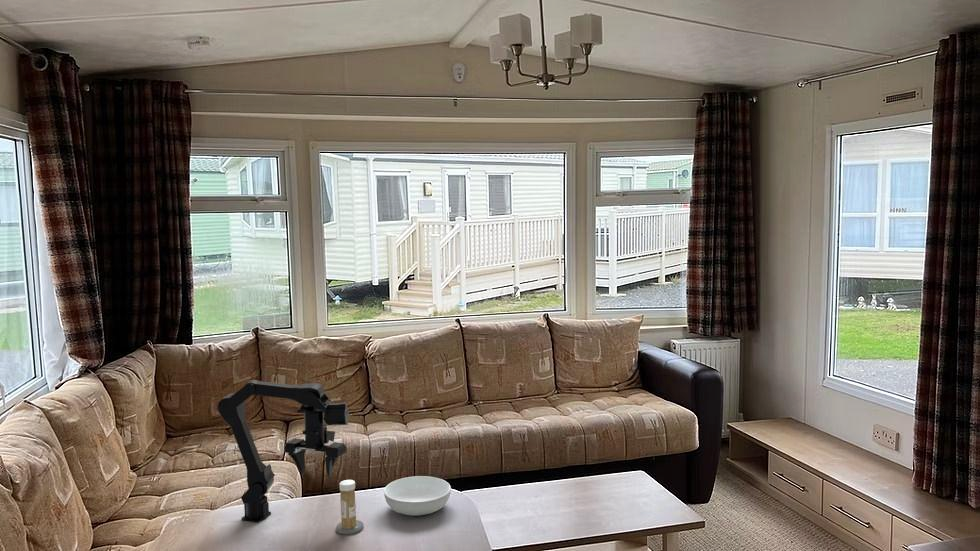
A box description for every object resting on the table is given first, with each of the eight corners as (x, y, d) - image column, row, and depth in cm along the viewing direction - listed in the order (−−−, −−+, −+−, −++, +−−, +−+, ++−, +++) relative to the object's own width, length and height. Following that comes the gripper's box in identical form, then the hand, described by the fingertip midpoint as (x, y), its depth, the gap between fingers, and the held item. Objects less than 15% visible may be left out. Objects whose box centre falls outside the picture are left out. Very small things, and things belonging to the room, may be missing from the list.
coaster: (330, 532, 196) (330, 530, 196) (344, 521, 203) (344, 518, 203) (355, 536, 193) (355, 533, 193) (368, 524, 201) (368, 521, 201)
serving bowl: (448, 524, 200) (448, 501, 200) (378, 524, 201) (378, 502, 200) (453, 495, 221) (453, 475, 221) (390, 495, 222) (389, 475, 221)
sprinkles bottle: (357, 528, 197) (355, 483, 195) (341, 530, 195) (340, 486, 194) (355, 521, 201) (354, 478, 200) (340, 523, 200) (338, 480, 198)
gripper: (354, 420, 210) (356, 468, 211) (302, 415, 215) (305, 462, 217) (335, 431, 199) (337, 481, 200) (282, 426, 205) (284, 475, 206)
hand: (316, 474), depth 206 cm, fingers open, 9 cm apart
